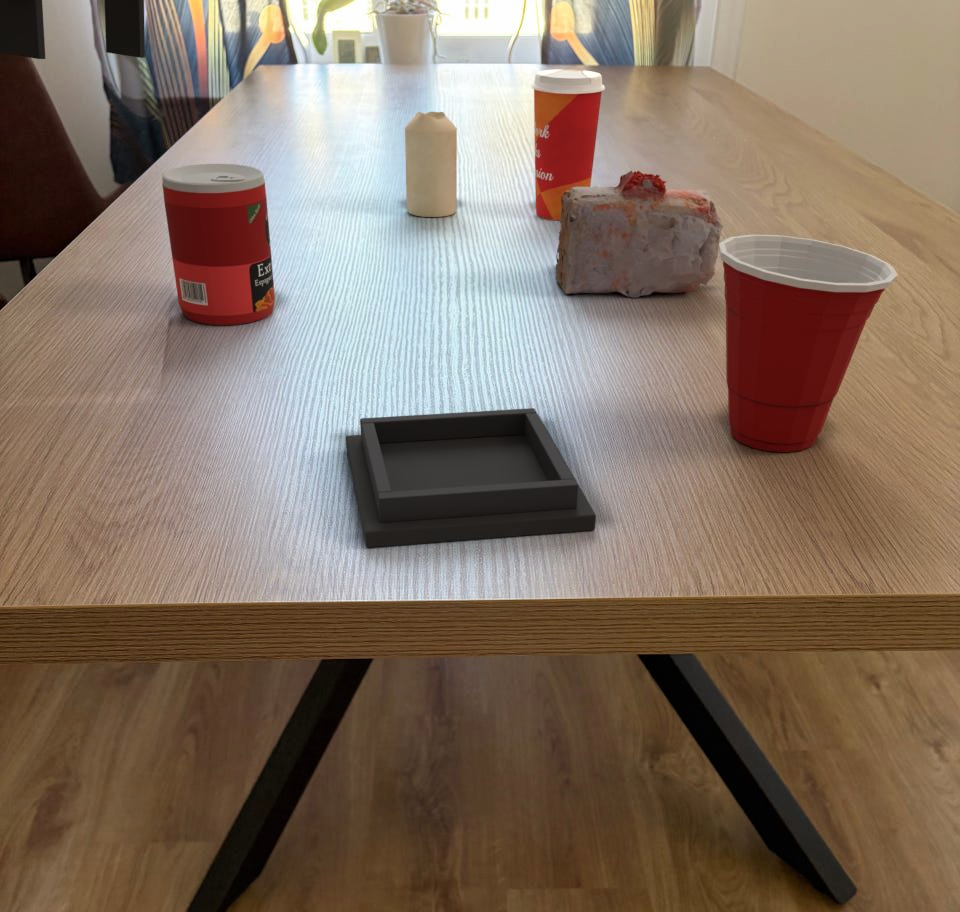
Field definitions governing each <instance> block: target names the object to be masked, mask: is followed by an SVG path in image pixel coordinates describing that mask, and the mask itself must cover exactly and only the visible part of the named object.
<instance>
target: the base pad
mask: <svg viewBox="0 0 960 912" xmlns="http://www.w3.org/2000/svg"><path fill="white" fill-rule="evenodd" d="M359 426H360V434H352V435H346V436H345V445H346V446H345V447H346V448H345V449H346V454H347V459H348V465H349V469H350V474H351V478H352V484H353V488H354V489H353V490H354V494H355V498H356V504H357V509H358V514H359V518H360V523H361V528H362V534H363V538H364V539H363V540H364V544H365V547H366V548H380V547H392V546H393V547H394V546H405V545H406V546H407V545H418V544H419V545H420V544H431V543H432V544H433V543H442V542H443V543H444V542H457V541H458V542H459V541H470V540H471V541H472V540H484V539H496V538H497V539H498V538H509V537H510V538H511V537H523V536H535V535H536V536H537V535H547V534H548V535H549V534H560V533H572V532H573V533H574V532H575V533H576V532H588V531H595V530H596V523H597V522H596V521H597V515H596V512H595V510H594V509H593V508H592V505H591V504H590V502H589V501H588V498H587V497H586V495H585V493H584V492H583V490H582V488H581V486H580V484H579V483H578V481H577V480H576V478H575V476H574V473H573V472H572V471H571V469H570V466H568V464H567V462H566V460H565V458H564V457H563V455H562V453H561V452H560V450H559V448H558V446H557V445H556V443H555V441H554V439H553V437H552V435H551V434H550V432H549V430H548V429H547V426H546V425H545V423H544V422H543V421H542V419H541V417H540V415H539V413H538V412H537V410H536V408H534V407H533V408H532V407H530V408H515V409H498V410H497V409H495V410H482V411H478V410H477V411H463V412H446V413H430V414H412V415H411V414H410V415H396V416H382V417H381V416H379V417H362V418H360V419H359Z"/></svg>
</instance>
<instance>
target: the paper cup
mask: <svg viewBox="0 0 960 912" xmlns="http://www.w3.org/2000/svg"><path fill="white" fill-rule="evenodd" d="M530 88H531V89H532V90H533V102H534V103H533V112H534V113H533V116H534V127H533V128H534V183H535V184H534V185H535V187H534V188H535V190H534V191H535V194H534V195H535V211H536V212H535V213H536V216H538V217H539V218H541V219H546V220H550V221H561V212H562V204H561V196H562V195H563V194H564V192H566V191H570V190H571V188H572V187H591V185H592V184H591V183H592V175H593V169H594V168H593V167H594V159H595V151H596V143H597V135H598V134H597V133H598V125H599V117H600V109H601V100H602V92H604V91H605V90H606V86H605V85H604V84H603V76H602V74H601V73H600V72H596V71H592V70H585V69H583V70H579V69H569V68H568V69H563V68H554V69H544V70H539V71H537V72H536V73H535V76H534V82H533V83H532V84H531V85H530ZM564 198H565V197H564V196H563V198H562V199H564Z"/></svg>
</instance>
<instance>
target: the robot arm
mask: <svg viewBox="0 0 960 912" xmlns="http://www.w3.org/2000/svg"><path fill="white" fill-rule="evenodd" d="M43 7H44V6H43V0H0V54H4V55H11V56H18V57H24V58H29V59H37V60H46V45H45V43H46V42H45V27H44V24H45V23H44V9H43ZM104 26H105V27H104V29H105V53H108V54H114V55H120V56H126V57H133V58H139V59H141V58H142V59H145V58H146V39H145V38H146V33H145V32H146V31H145V0H104Z"/></svg>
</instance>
